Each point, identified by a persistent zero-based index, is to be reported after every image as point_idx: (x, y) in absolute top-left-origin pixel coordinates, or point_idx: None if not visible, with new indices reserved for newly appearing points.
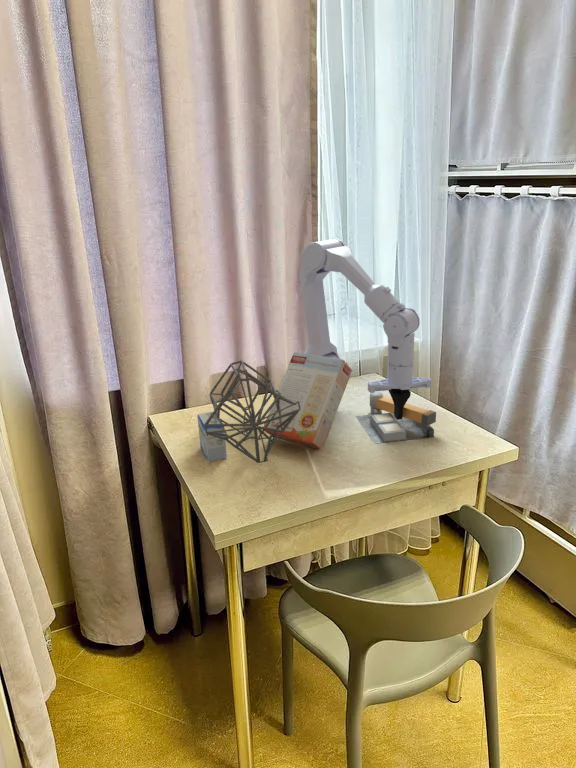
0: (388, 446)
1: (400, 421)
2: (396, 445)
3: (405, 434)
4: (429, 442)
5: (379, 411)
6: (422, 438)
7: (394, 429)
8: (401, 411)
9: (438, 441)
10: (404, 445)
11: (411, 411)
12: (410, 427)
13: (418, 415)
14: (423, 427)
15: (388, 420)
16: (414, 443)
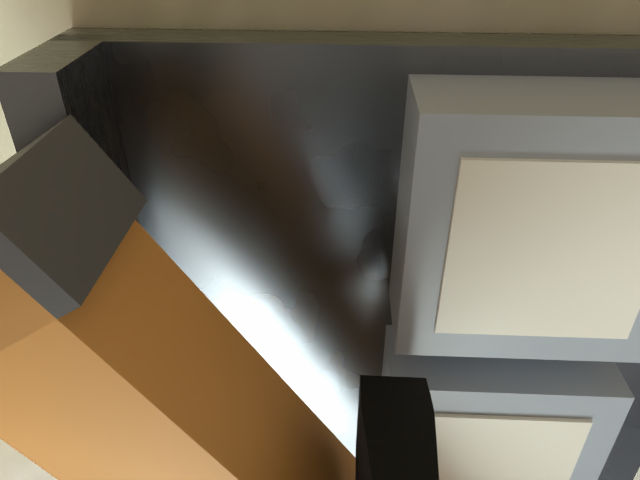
0: (632, 30)
1: None
2: (529, 32)
3: (420, 95)
4: (125, 10)
5: None
6: (197, 40)
7: (551, 198)
8: (389, 466)
9: (15, 9)
10: (439, 7)
11: (227, 442)
12: (249, 313)
13: (147, 336)
14: None
15: (475, 415)
16: (305, 30)
